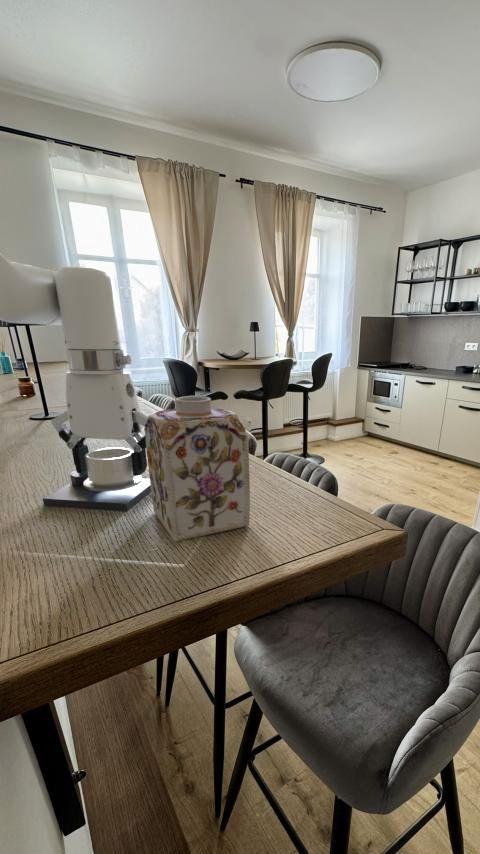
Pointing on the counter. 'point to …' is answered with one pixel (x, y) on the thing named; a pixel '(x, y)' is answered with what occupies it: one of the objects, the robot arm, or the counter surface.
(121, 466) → the bowl
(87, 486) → the scale pan
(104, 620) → the counter surface
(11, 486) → the counter surface
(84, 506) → the scale
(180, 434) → the decorative jar
